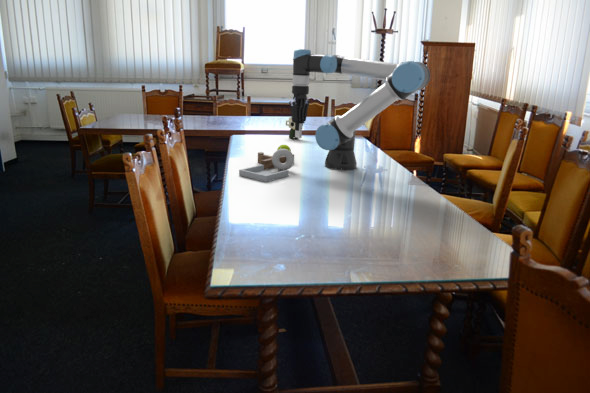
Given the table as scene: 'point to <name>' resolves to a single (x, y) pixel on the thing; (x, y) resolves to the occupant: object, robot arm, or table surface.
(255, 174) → the tray
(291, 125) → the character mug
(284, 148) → the tennis ball
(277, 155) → the donut
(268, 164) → the t rack
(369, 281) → the table surface
